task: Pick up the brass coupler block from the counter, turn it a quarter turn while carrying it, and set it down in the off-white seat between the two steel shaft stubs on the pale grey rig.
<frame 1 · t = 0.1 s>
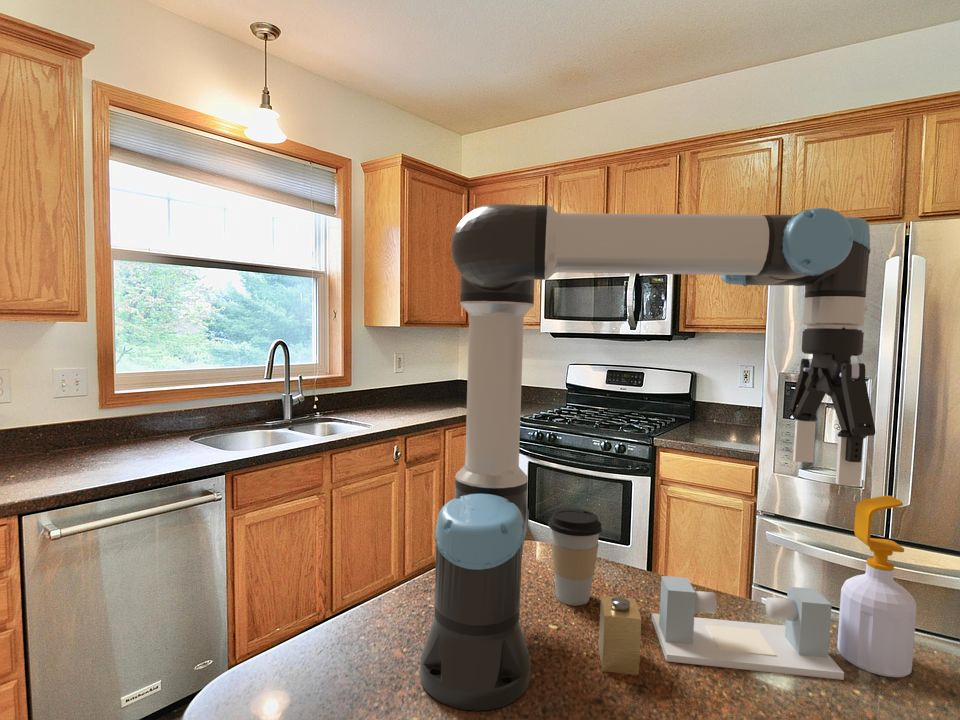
hand: (823, 472, 81), 28 cm above the countertop, fingers open, 13 cm apart
coupler: (617, 660, 80), on the countertop
soap bottle: (873, 661, 82), on the countertop
coffee cup: (571, 598, 99), on the countertop
shaft rig: (739, 646, 85), on the countertop
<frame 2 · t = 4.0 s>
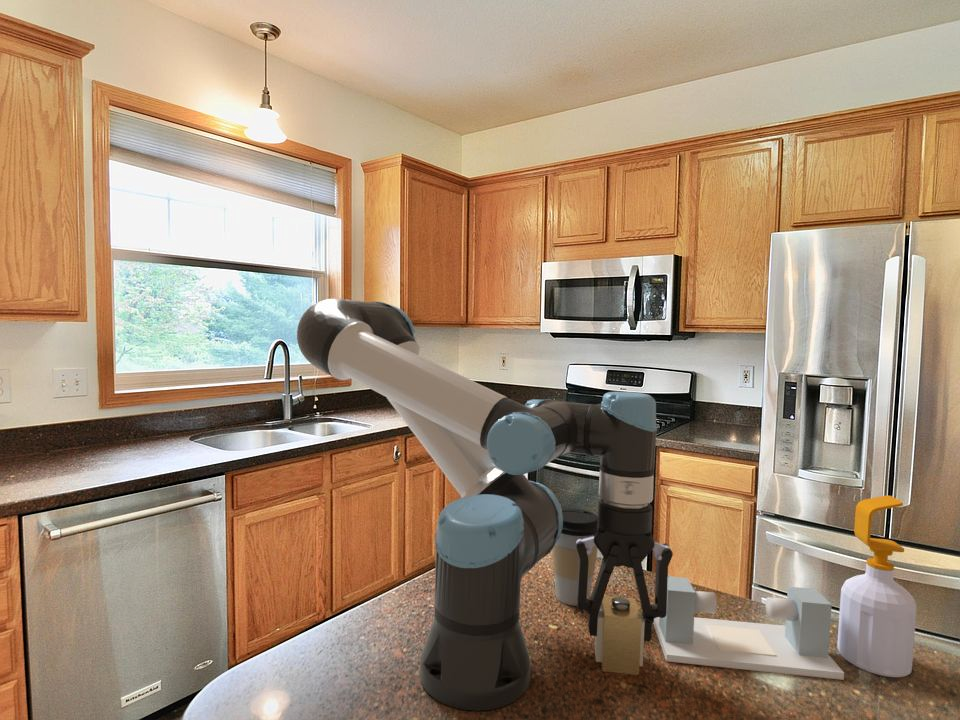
hand: (618, 658, 80), 0 cm above the countertop, fingers closed on coupler, 5 cm apart
coupler: (618, 660, 80), on the countertop, touching gripper
everything else where it was.
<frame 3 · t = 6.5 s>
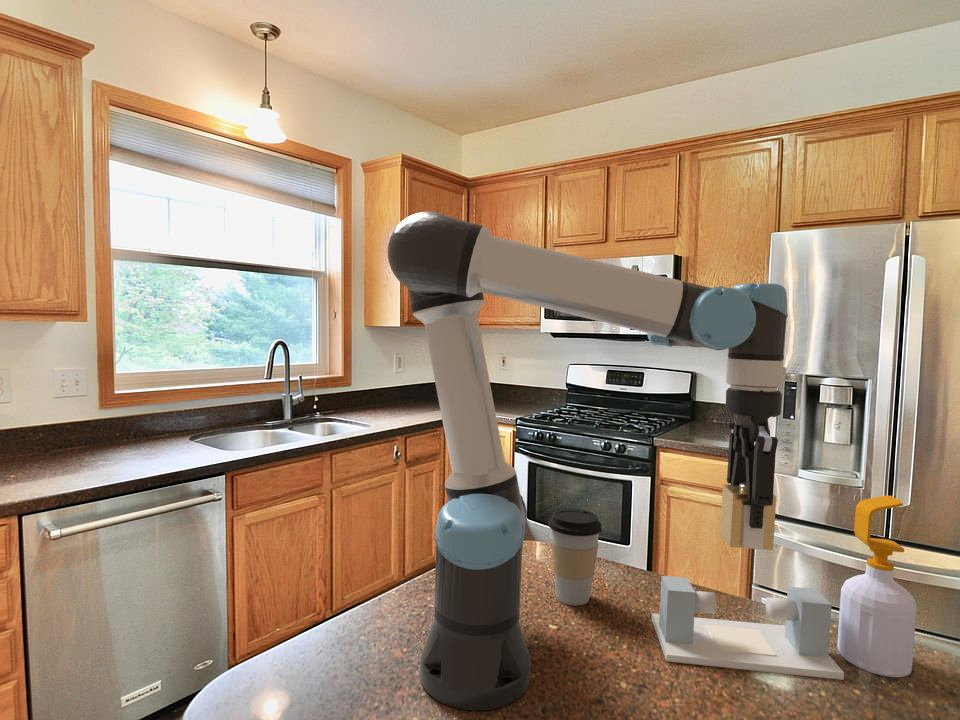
hand: (745, 540, 84), 17 cm above the countertop, fingers closed on coupler, 5 cm apart
coupler: (745, 542, 84), point 16 cm above the countertop, touching gripper
everything else where it was.
when the fingers open (3 cm above the countertop, at t = 9.3 s): coupler drops 1 cm, resting on shaft rig.
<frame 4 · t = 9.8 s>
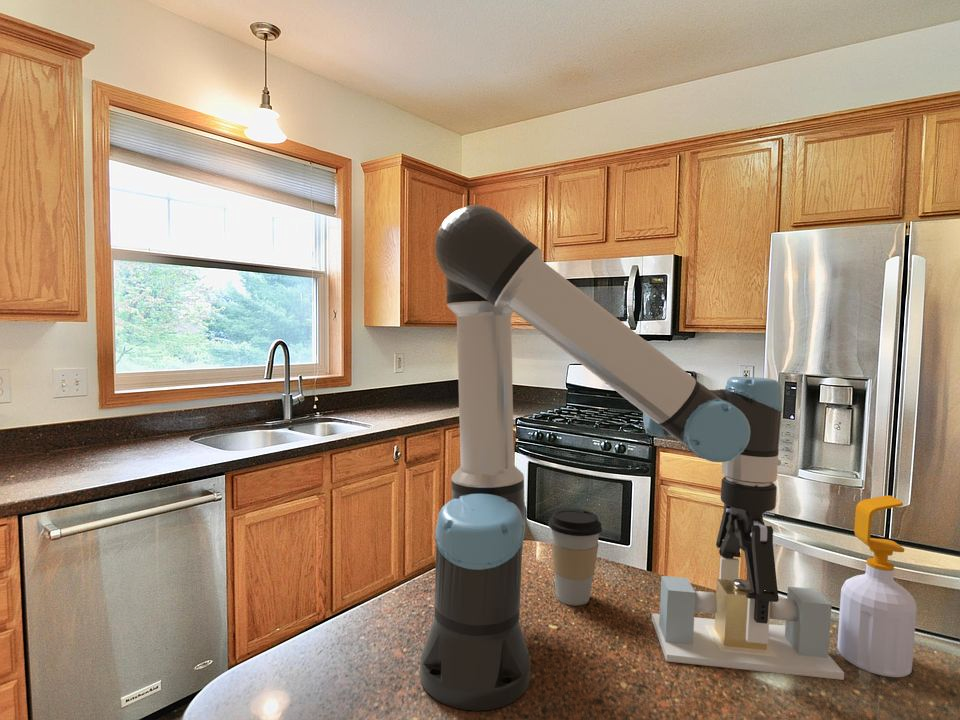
hand: (740, 618, 85), 5 cm above the countertop, fingers open, 12 cm apart
coupler: (739, 638, 85), point 1 cm above the countertop, touching shaft rig
everything else where it was.
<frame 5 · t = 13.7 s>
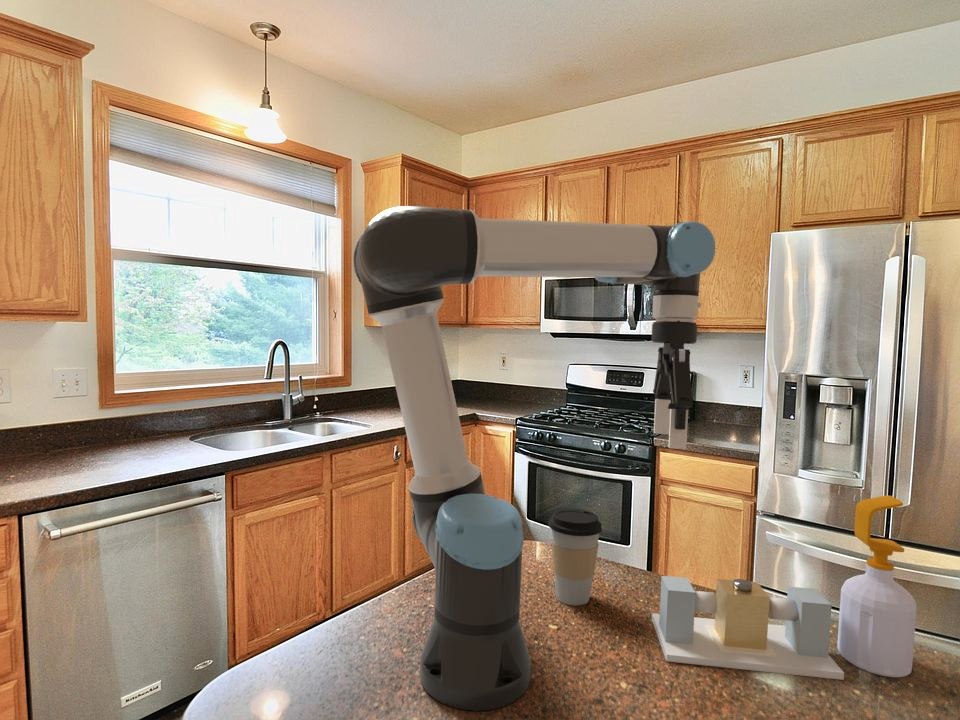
hand: (668, 440, 98), 29 cm above the countertop, fingers open, 13 cm apart
nothing on the countertop moved.
at the end: coupler 0.1 cm off-centre on the shaft rig, point 1.2 cm above the shaft rig's base; coupler tilted 0°; the gripper is holding nothing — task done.
